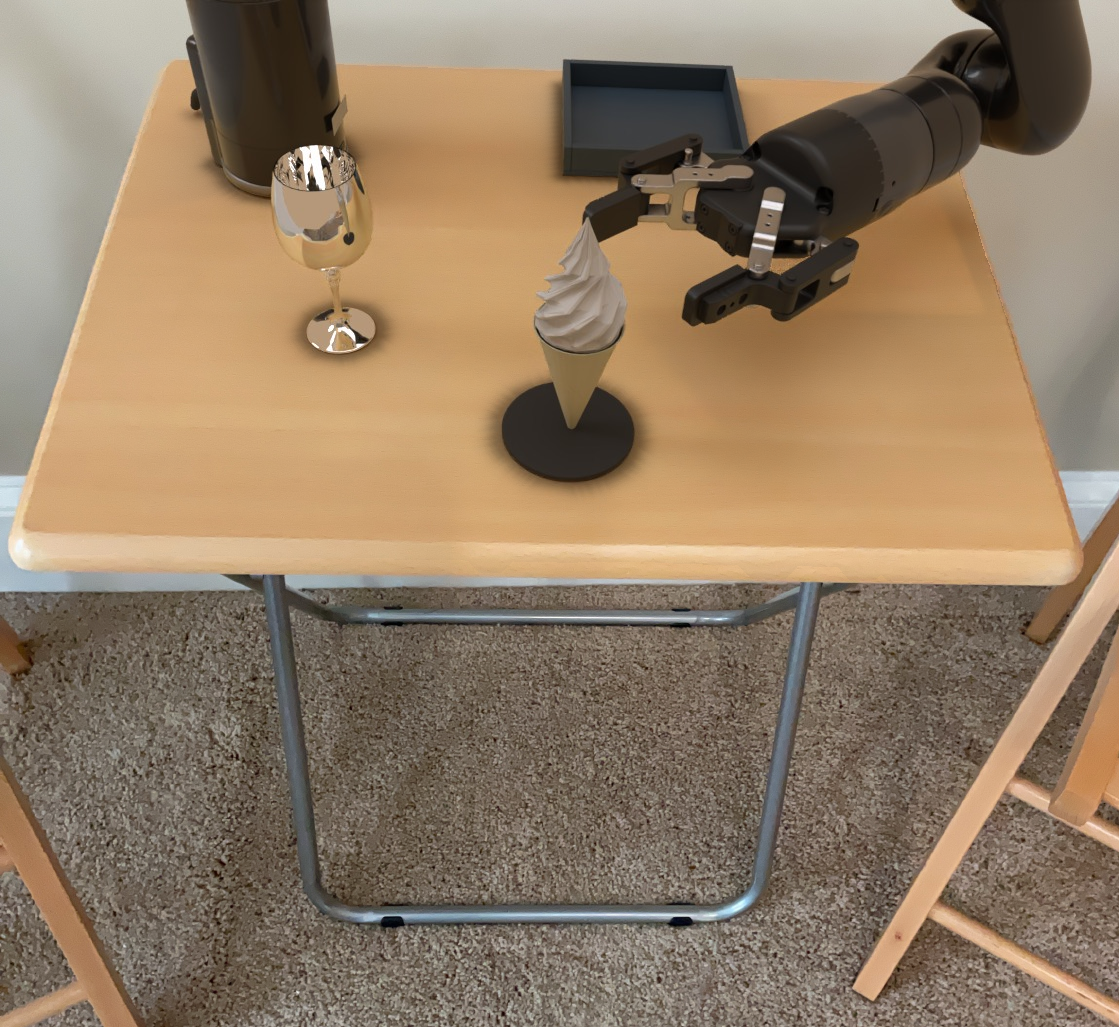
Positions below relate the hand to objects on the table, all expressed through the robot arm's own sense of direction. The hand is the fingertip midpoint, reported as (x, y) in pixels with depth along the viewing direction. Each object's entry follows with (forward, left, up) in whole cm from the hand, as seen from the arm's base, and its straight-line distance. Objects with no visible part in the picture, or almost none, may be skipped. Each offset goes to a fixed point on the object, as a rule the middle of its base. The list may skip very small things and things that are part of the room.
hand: (635, 268), depth 56 cm
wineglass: (-19, -4, -11) cm, 22 cm away
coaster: (-2, -4, -10) cm, 11 cm away
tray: (-12, +29, -10) cm, 33 cm away
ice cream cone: (-1, -3, -10) cm, 11 cm away
